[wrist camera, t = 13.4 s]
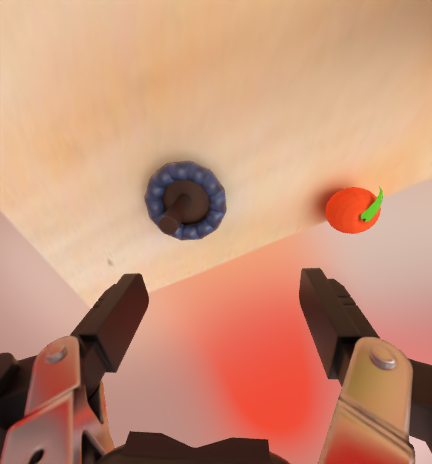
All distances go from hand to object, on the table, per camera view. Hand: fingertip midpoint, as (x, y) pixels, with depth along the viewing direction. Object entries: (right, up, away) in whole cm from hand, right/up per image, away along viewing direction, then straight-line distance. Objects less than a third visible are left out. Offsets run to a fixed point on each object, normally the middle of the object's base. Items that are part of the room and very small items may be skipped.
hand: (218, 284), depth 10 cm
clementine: (+21, +8, +24) cm, 33 cm away
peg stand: (-5, +9, +25) cm, 27 cm away
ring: (-5, +7, +23) cm, 24 cm away
